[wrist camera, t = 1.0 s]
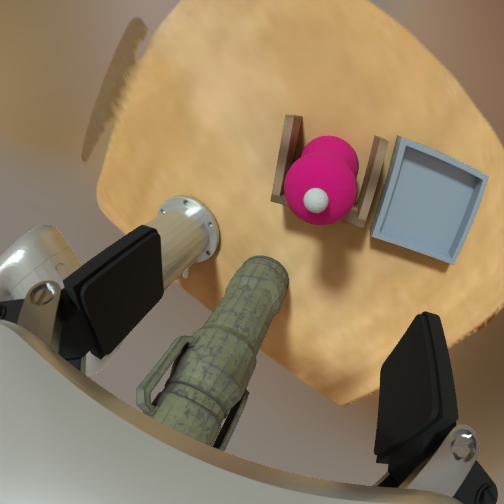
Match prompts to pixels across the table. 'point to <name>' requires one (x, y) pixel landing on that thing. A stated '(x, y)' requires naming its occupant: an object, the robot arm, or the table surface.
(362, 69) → the table surface
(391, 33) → the table surface
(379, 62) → the table surface
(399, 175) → the slate tray
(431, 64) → the table surface
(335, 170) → the pepper mill
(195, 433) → the olive piece
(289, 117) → the walnut bay
